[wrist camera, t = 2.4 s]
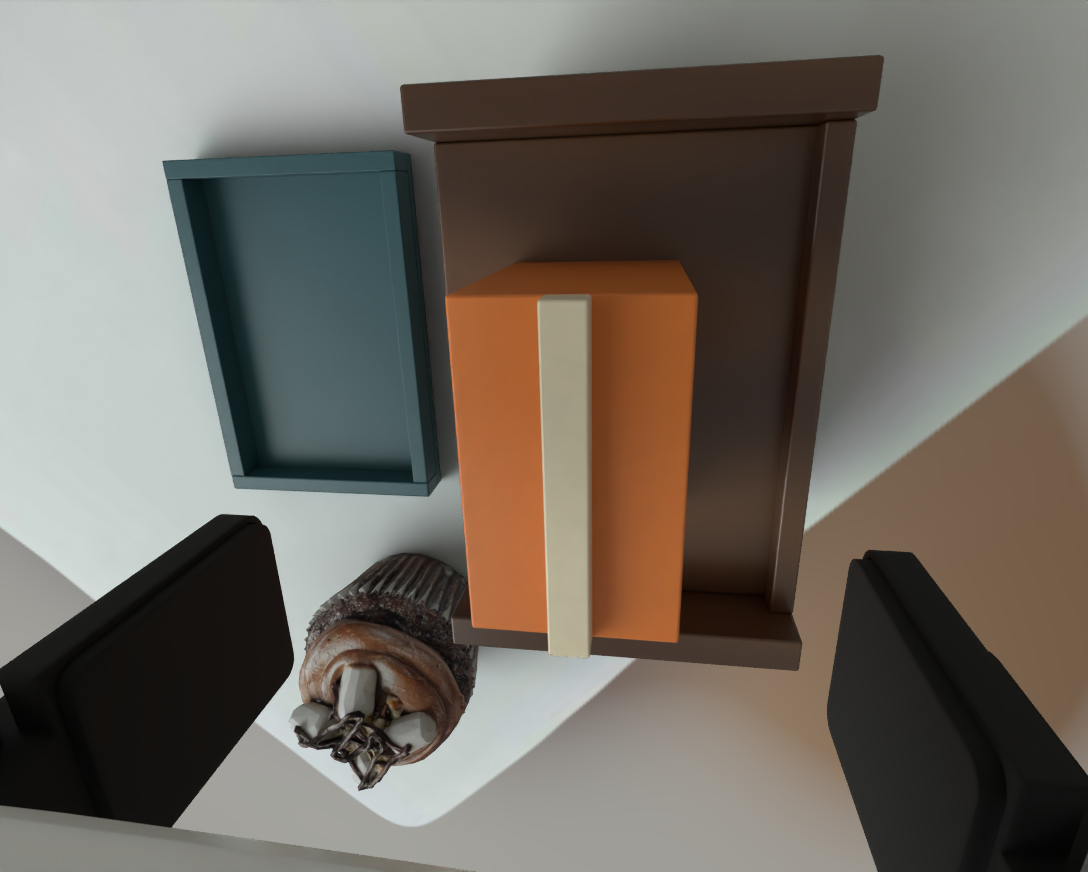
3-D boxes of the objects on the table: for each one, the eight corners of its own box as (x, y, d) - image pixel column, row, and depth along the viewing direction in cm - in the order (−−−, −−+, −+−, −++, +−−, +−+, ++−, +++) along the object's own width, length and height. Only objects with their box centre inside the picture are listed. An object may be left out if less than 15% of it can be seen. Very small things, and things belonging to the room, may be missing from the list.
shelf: (500, 132, 28) (398, 83, 16) (780, 118, 26) (885, 53, 15) (517, 495, 34) (452, 644, 23) (744, 504, 32) (799, 672, 21)
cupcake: (525, 596, 37) (484, 731, 27) (449, 698, 40) (390, 847, 31) (384, 510, 36) (293, 618, 27) (320, 621, 40) (220, 750, 30)
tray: (192, 163, 31) (161, 160, 29) (410, 153, 29) (393, 150, 27) (256, 473, 36) (234, 488, 34) (441, 480, 35) (429, 497, 33)
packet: (514, 262, 20) (431, 300, 12) (679, 259, 19) (702, 298, 12) (524, 498, 23) (462, 649, 15) (668, 504, 22) (680, 666, 14)
